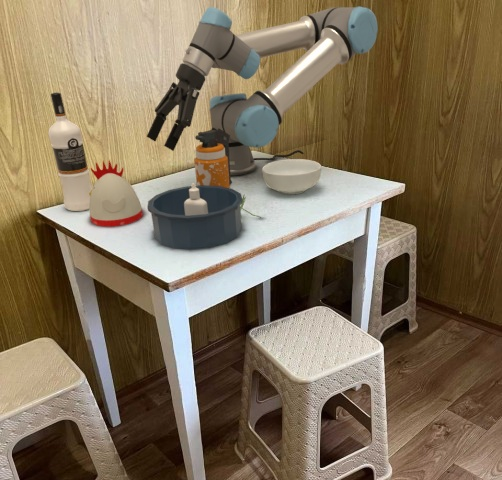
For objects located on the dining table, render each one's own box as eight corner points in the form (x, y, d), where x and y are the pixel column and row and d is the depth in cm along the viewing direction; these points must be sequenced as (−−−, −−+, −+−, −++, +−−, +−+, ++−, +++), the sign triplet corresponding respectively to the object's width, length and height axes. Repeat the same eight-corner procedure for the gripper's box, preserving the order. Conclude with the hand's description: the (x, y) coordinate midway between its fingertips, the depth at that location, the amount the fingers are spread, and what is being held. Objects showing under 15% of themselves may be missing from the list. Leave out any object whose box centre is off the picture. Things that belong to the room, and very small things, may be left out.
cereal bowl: (306, 178, 161) (307, 155, 157) (330, 194, 148) (331, 169, 144) (255, 186, 157) (254, 162, 153) (274, 203, 144) (274, 178, 140)
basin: (218, 208, 142) (216, 179, 138) (260, 235, 125) (259, 203, 121) (140, 227, 133) (134, 197, 129) (173, 258, 117) (168, 225, 112)
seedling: (250, 236, 137) (228, 224, 136) (261, 211, 139) (240, 199, 137) (258, 228, 130) (235, 215, 129) (270, 201, 132) (248, 188, 131)
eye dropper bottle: (199, 225, 132) (194, 179, 126) (212, 231, 129) (207, 184, 122) (184, 230, 130) (179, 183, 123) (197, 236, 126) (192, 188, 120)
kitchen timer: (90, 211, 145) (78, 157, 136) (139, 205, 147) (130, 151, 139) (91, 229, 133) (78, 171, 125) (145, 222, 136) (135, 164, 128)
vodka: (92, 198, 154) (67, 88, 138) (102, 207, 148) (78, 92, 131) (61, 205, 150) (32, 93, 133) (70, 214, 144) (41, 97, 127)
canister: (192, 205, 145) (184, 131, 134) (220, 195, 152) (214, 123, 141) (214, 212, 140) (207, 135, 129) (242, 201, 146) (238, 126, 135)
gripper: (165, 58, 146) (133, 129, 150) (202, 65, 127) (164, 145, 132) (186, 73, 150) (155, 141, 155) (225, 82, 132) (188, 159, 137)
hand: (159, 143), depth 144 cm, fingers open, 13 cm apart
